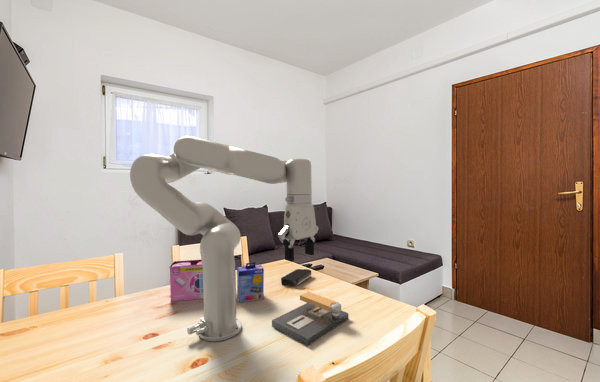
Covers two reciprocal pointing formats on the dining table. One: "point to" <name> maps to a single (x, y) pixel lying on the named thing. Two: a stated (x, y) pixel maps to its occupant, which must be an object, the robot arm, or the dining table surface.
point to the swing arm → (321, 302)
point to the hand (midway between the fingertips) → (299, 257)
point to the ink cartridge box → (250, 282)
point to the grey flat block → (308, 323)
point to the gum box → (186, 280)
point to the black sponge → (296, 277)
